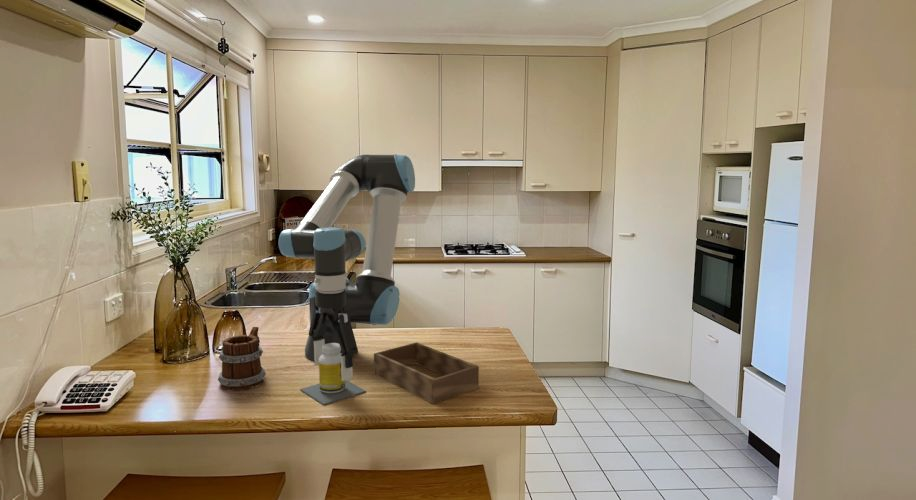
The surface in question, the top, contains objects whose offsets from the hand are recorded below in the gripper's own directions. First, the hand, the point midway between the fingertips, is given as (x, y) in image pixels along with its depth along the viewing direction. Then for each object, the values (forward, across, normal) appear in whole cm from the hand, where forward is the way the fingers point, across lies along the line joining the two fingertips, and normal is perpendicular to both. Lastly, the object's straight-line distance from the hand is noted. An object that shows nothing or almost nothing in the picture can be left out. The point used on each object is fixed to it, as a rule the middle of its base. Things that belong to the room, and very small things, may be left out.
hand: (333, 371), depth 141 cm
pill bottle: (+5, 0, 0) cm, 5 cm away
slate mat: (+5, 0, 0) cm, 5 cm away
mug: (+5, -22, -14) cm, 27 cm away
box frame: (+5, +10, +22) cm, 25 cm away
